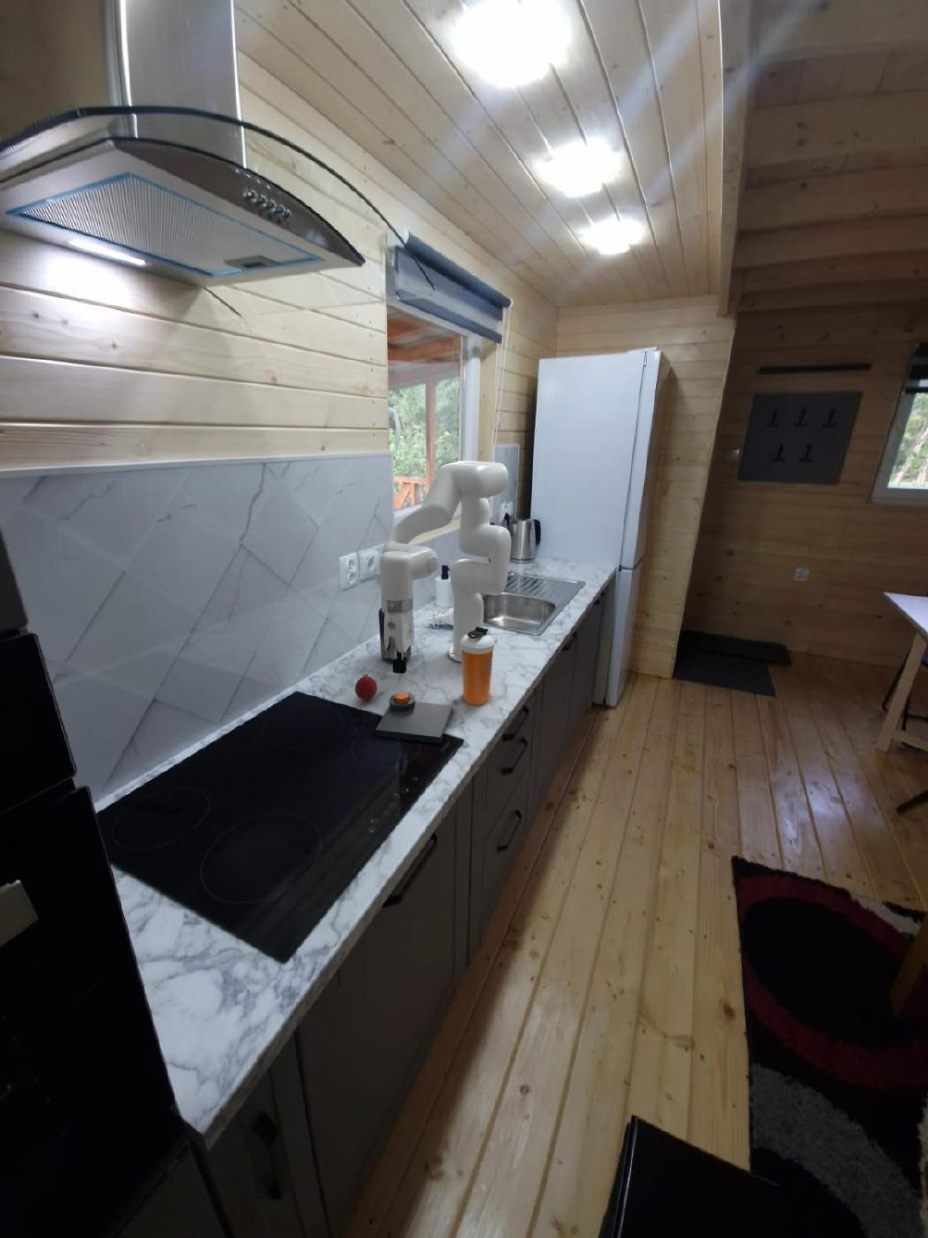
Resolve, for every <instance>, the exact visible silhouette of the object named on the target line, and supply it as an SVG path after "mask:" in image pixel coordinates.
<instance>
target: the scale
mask: <svg viewBox="0 0 928 1238" xmlns="http://www.w3.org/2000/svg"><path fill="white" fill-rule="evenodd" d="M407 693H408V694H409V701H408V702H407V703H402V704H401V703H396V702H395V694H393V695H390V697H389V699H388V704H389V706H388V708H387V710H386V711H385V713H384V715H383V716H382V718H381V720H380V721H379V723H378V725H377V726H376V727H375V737H381V738H389V739H398V740H406V741H414V742H422V743H423V742H424V743H429V744H437V745H438V744H439V745H440V744H441V743H442V741H443V738H444V736H445V732H446V730H447V728H448V725H449V722H450V720H451V717H452V714H453V705H449V704H441V703H432V702H431V703H430V702H421V701H416V698H415V696H414V695H413V694H411V693H409V692H407Z"/></svg>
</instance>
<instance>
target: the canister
mask: <svg viewBox="0 0 928 1238" xmlns="http://www.w3.org/2000/svg"><path fill="white" fill-rule="evenodd" d="M384 618H385V613H384V612H383V611H382V607H380V608H379V609H378V624H379V625H378V628H379V642H380V644H379V645H380V655H381V659H383V660H384V661H386V662H388V663H392V659H390V651H389V652H387V651H386V650H385V644H384ZM411 656H412V644H411V645H410V646H409V648H408V649H407V654H406V656H404V657H406V661H407V660H408V659H409V658H411Z"/></svg>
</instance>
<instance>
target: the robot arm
mask: <svg viewBox="0 0 928 1238" xmlns="http://www.w3.org/2000/svg"><path fill="white" fill-rule="evenodd" d="M508 471H509V470H508V469H507V467H506V465H505V464H504V463H502V462H495V461H481V460H480V461H479V460H459V461H456V462H453V463H452V462H451V463H447V464H444V465H442V466H441V467H440V468H439V469H438V471H437V473H436V475H435V477H434V479H433V481H432V483H431V485H430V487H429V490H428V491H427V493H426V495H425V497H424V499H423V501H422V504H421V505H420V506H419V507H418V508H416V509H414V510H413V511H412V512H410V513H409V514H408V515H406V516H404V518H402V519H401V520H400V521H398V522H397V523H396V524H395V525H394V526H393V527H392V529H391V531H390V532H389V534H388V537H387V539H386V540H385V543H384V545H383V548H382V552H381V555H380V556H379V579H380V600H381V608H382V611H383V612H384V613H385V618H384V644H385V650H386V651H387V652H389V651H390V659H392V662H391V663H392V664H391V665H392V673H393V674H402V675H404V674H406V673H407V671H408V669H407V668H408V665H407V663H408V662H407V660H406V657H404V656H406V654H407V649H408V648H409V646H410V645H411V646H412V644H413V642H414V640H415V625H414V613H413V611H414V587H413V586H414V585H413V583H414V580H420V579H426V578H429V577H430V576H432V575H433V574H434V573H435V572H436V571H437V569H438V566H439V556H438V553H437V552H436V551H435V550H434V549H432V548H430V547H427V546H422V545H416V544H410V543H411V541H413V540H414V539H415V538H416V537H417V538H418V537H419V536H421V535H423V534H426V533H429V532H433V531H435V530H439V529H441V528H445V527H446V526H449V525H450V523H451V522H452V521H453V518H454V516H455V513H456V511H457V509H458V507H459V505H460V506H461V510H460V522H459V531H458V532H459V533H458V548H459V551H460V552H461V553H463V554H465V555H470V556H475V557H482V558H489V560H490V561H483V560H478V559H470V558H461V559H458V560H455V561H454V562H453V563H452V565H451V567H450V571H449V579H450V584H451V585H450V586H451V589H452V598H453V599H452V600H453V601H452V603H453V604H452V605H453V607H452V608H453V626H452V628H453V631H452V632H453V633H452V636H453V638H452V639H453V641H452V642H453V644H452V646H451V647H450V648H449V649H448V656H449V658H451V659H452V660H453V661H455V662H459V663H462V649H461V639H462V638H463V636H465V635H466V634H468V633H469V632H471V631H473V630H474V629H475V627H480V628H484V617H485V616H484V614H485V613H484V612H485V611H484V610H485V604H484V599H483V597H482V595H481V594H483V595H489V596H500V595H501V594H503V593H504V591H505V589H506V588H507V587H506V586H507V582H508V577H509V568H510V560H511V552H512V536H511V533H510V531H509V530H508V528H506V527H504V526H501V525H495V524H494V525H493V524H490V516H491V506H490V502H489V500H488V498H491V497H492V498H493V497H495V496H498V495H501V494H502V493H503V492H504V491H505V490H506V489H507V486H508V483H509V472H508Z"/></svg>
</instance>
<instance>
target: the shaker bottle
mask: <svg viewBox="0 0 928 1238" xmlns="http://www.w3.org/2000/svg"><path fill="white" fill-rule="evenodd" d="M461 649H462V662H461V665H462V666H461V667H462V669H461V670H462V673H461V674H462V695H463V701H465V702H466V703H468V704H470V705H475V706H476V705H484V704H486V703H488V702H489V700H490V693H491V692H490V691H491V682H492V671H493V670H492V669H493V659H494V658H493V657H494V650H495V639H494V638H493V637H492V635H491V630H490V629H489V628H485V627H483V628H480V627H475V629H474V630H473V631H471V632H469V633H468V634H466V635H465V636H463V638H462V639H461Z"/></svg>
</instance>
